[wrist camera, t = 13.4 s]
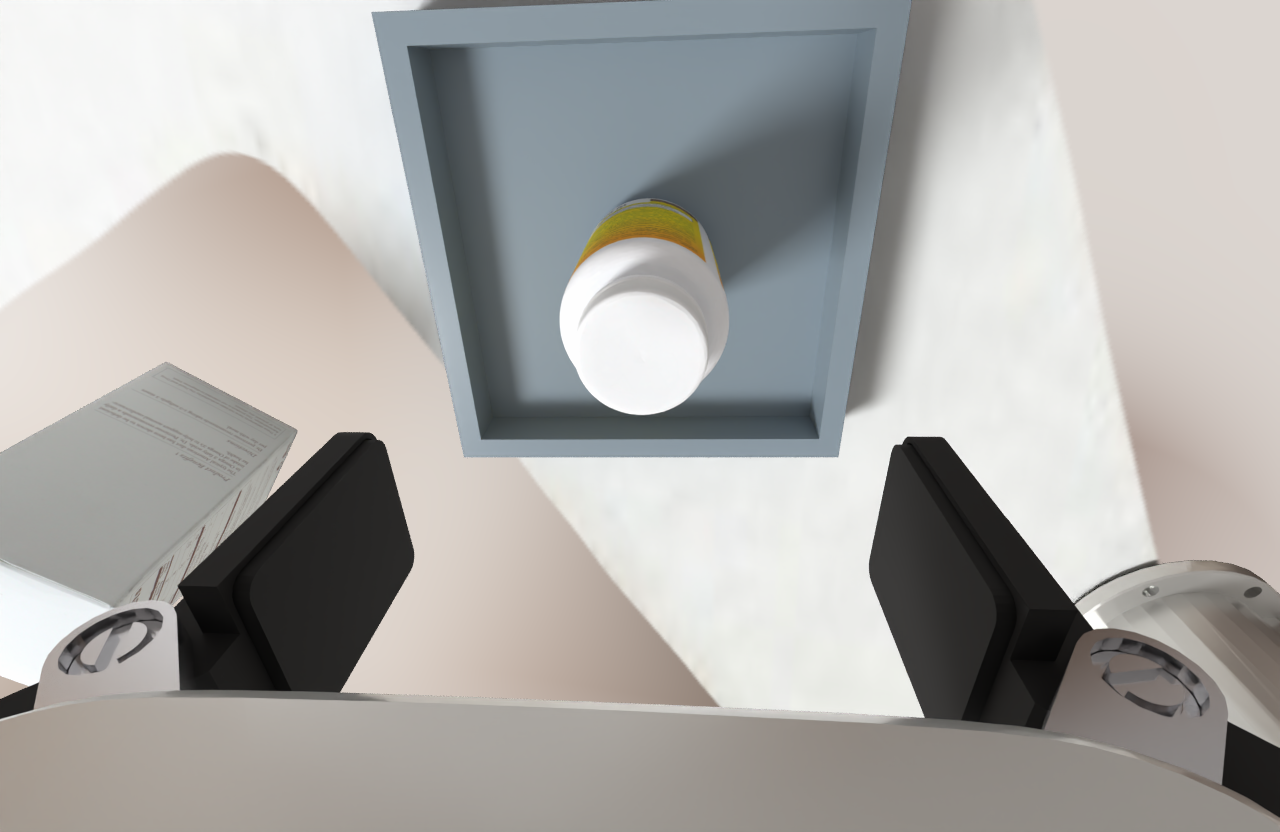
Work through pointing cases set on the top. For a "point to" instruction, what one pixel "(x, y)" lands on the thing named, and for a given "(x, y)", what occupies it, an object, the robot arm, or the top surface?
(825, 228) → the tray
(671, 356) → the supplement bottle
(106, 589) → the supplement box
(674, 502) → the top surface
